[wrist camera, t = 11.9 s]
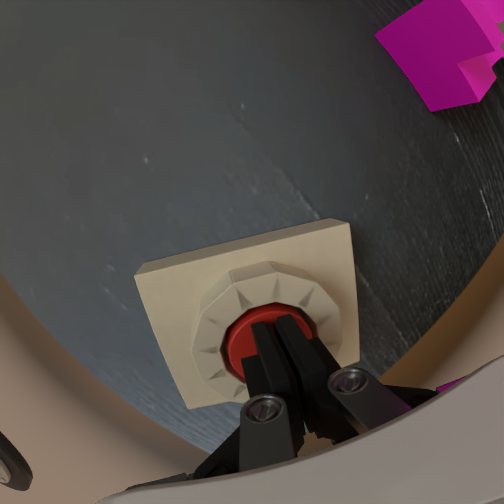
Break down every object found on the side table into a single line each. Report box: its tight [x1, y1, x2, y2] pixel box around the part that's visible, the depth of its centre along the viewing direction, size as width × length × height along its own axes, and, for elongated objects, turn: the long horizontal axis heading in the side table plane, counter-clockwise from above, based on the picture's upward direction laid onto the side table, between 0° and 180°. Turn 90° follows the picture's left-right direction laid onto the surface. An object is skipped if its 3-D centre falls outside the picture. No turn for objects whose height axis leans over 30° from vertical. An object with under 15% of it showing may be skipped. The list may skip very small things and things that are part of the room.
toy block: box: [374, 0, 504, 112], centre depth 10 cm, size 15×6×8 cm, turn 132°
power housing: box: [134, 218, 360, 409], centre depth 14 cm, size 10×8×4 cm
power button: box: [225, 302, 313, 378], centre depth 12 cm, size 4×4×2 cm
